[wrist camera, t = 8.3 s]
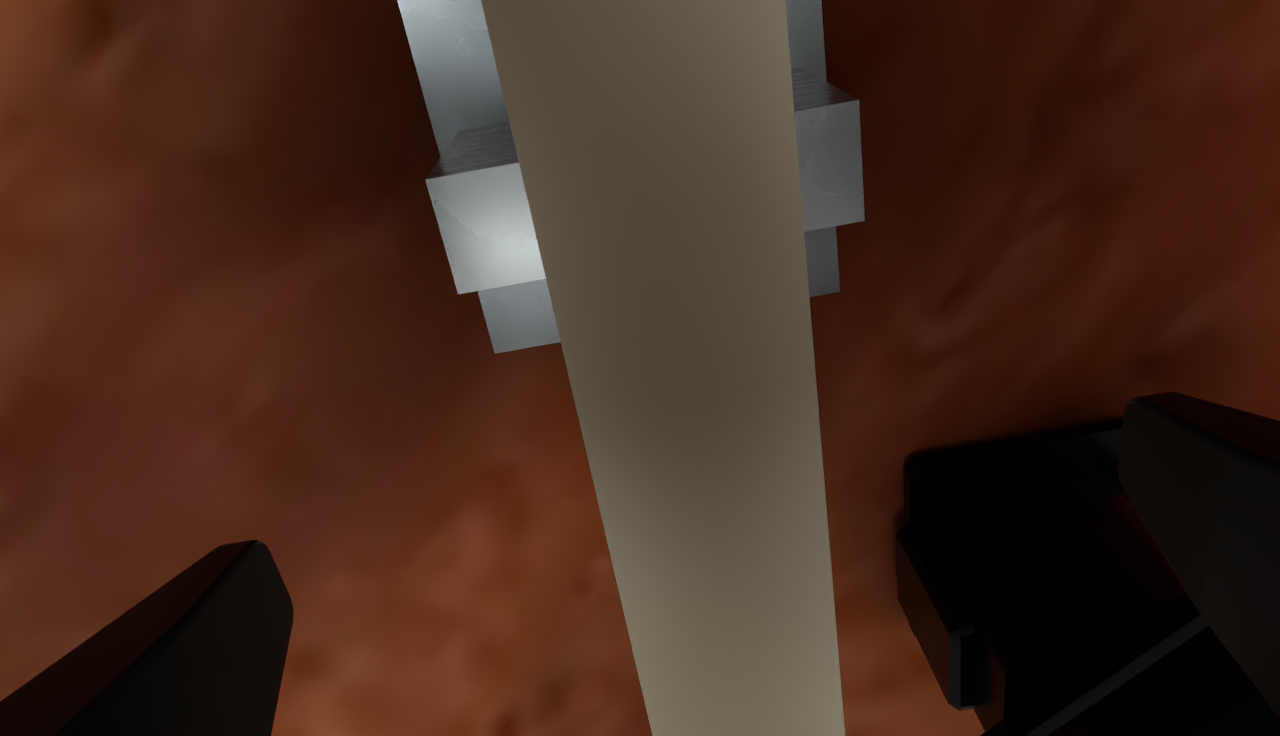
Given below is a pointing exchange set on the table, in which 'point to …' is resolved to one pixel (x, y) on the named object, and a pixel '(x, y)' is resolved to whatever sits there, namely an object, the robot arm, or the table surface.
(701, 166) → the batten
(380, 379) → the table surface
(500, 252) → the fulcrum
